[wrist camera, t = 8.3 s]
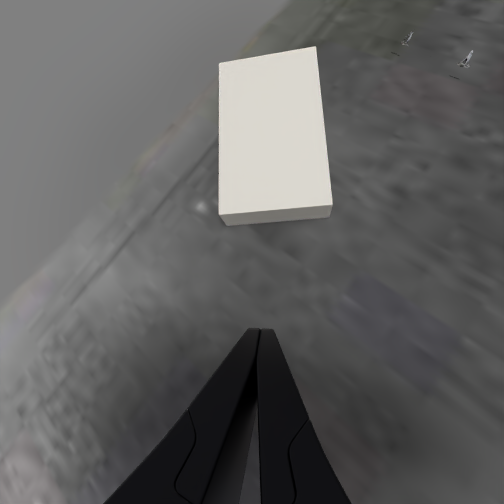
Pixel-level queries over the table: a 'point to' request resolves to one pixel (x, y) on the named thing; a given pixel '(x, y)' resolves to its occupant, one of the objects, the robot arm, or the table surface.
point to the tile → (272, 140)
